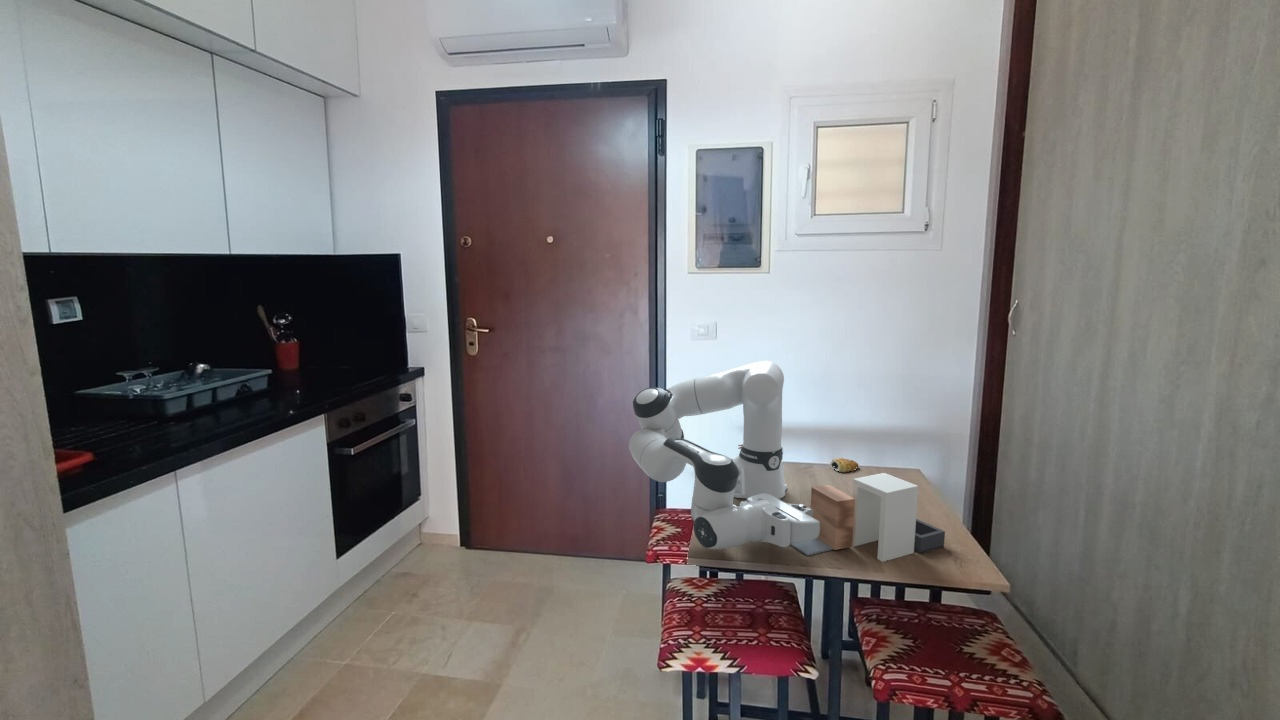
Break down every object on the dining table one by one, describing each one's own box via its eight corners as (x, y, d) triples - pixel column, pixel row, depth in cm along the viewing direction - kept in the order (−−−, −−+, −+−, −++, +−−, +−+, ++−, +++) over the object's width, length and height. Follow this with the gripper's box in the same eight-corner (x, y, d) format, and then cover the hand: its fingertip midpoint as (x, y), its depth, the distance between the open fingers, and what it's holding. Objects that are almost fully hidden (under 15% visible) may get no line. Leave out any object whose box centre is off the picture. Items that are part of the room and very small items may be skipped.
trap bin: (879, 533, 150) (880, 518, 149) (902, 527, 153) (903, 513, 153) (920, 554, 139) (921, 537, 138) (943, 547, 142) (945, 531, 142)
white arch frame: (849, 543, 144) (853, 478, 142) (880, 536, 148) (884, 472, 146) (882, 561, 135) (886, 492, 133) (913, 553, 140) (918, 485, 137)
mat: (777, 537, 148) (777, 535, 148) (812, 529, 153) (812, 527, 153) (807, 556, 138) (807, 554, 138) (843, 546, 143) (843, 544, 143)
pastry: (849, 464, 203) (850, 454, 203) (863, 471, 197) (864, 460, 197) (827, 468, 200) (827, 457, 200) (840, 474, 194) (841, 463, 193)
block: (826, 529, 151) (828, 484, 149) (852, 546, 142) (854, 498, 140) (809, 532, 149) (811, 486, 148) (834, 549, 140) (837, 501, 138)
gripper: (735, 516, 148) (780, 506, 153) (788, 551, 129) (837, 538, 135) (735, 491, 147) (780, 483, 152) (789, 523, 128) (838, 512, 134)
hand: (807, 509), depth 144 cm, fingers closed
